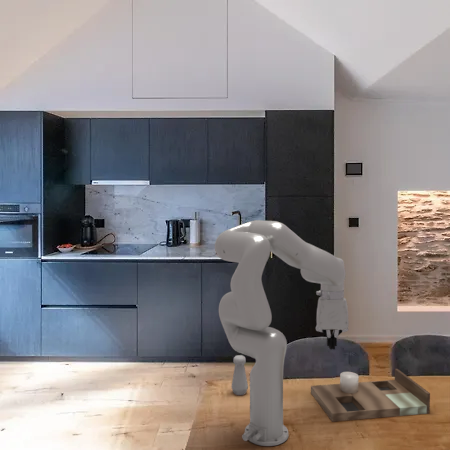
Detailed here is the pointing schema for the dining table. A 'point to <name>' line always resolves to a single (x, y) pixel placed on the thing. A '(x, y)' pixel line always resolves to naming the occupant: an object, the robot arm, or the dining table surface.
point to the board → (373, 399)
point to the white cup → (349, 382)
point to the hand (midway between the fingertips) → (331, 348)
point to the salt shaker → (239, 376)
